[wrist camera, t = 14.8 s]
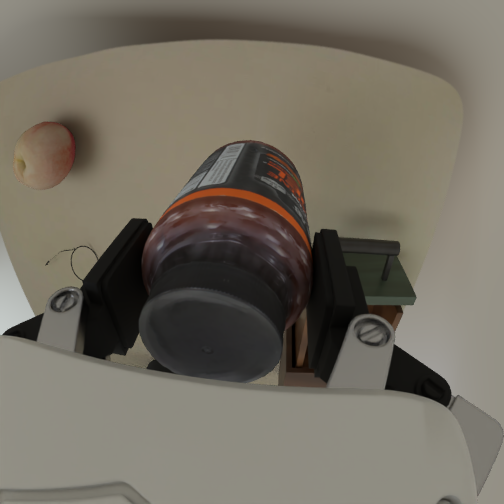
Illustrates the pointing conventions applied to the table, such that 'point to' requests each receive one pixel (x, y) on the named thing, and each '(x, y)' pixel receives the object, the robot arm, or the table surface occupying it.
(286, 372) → the cabinet
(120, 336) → the robot arm
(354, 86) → the table surface
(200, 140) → the table surface
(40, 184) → the fruit
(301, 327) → the drawer
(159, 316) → the supplement bottle
